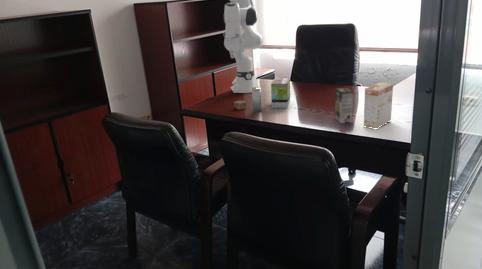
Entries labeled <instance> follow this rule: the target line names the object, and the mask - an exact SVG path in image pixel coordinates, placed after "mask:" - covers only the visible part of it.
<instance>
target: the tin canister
mask: <svg viewBox="0 0 482 269" xmlns="http://www.w3.org/2000/svg"><path fill="white" fill-rule="evenodd" d="M251 94H252V97H251V99H252V110H253V111H252V113H254V114H261V113H262V112H263V108H262V107H263V105H262V104H263V103H262V87H260V86H257V87H253V88H252V92H251Z"/></svg>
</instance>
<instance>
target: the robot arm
mask: <svg viewBox="0 0 482 269" xmlns="http://www.w3.org/2000/svg"><path fill="white" fill-rule="evenodd" d="M229 1H230V2H227V3H225V4H224V13H223V23H224V25H225V31H224V32H223V33H222V34H223V37H224V42H223V45H224V48H225V49H226V50H227V51H229V54H230V58H231V59H235V62H236V72H235V73H236V74H235V75H236V77H235V78H234V79H233V81H232V83H231V84H232V86H230V89H231V90H232V92H233V93H235V94H237V93H239V94H250V93H252V88H253V87H258V82H257V81H258V80H257V77H256V76H255V70H254V59H253V58H252V56H251V55H248V54H245V53H244V52H245V51H249V50H257V49H261V47H262V46H263V44H264V43H263V42H264V39H263V36H262V34H260V33H259V32H258V31H256V29H255V28H254V25H255V24H256V23H257V22H258V12H257V10H256V8H255V4H254V0H229Z"/></svg>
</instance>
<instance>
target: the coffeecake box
mask: <svg viewBox="0 0 482 269" xmlns="http://www.w3.org/2000/svg"><path fill="white" fill-rule="evenodd" d="M393 88H394V83H389V82H383V81H382V82H378V83H375V84H373V85H371V86H368V87H366V88H364V106H363V107H364V108H363V110H364V111H363V127H364V126H366V127H372V128H378V127H379V126H381V125H383V124H385V123H387V122H388V121H390V120H391V121H392V108H393V107H392V106H393V94H394V93H393V92H394V89H393ZM387 124H388V123H387ZM378 129H379V128H378Z"/></svg>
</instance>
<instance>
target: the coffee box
mask: <svg viewBox="0 0 482 269" xmlns="http://www.w3.org/2000/svg"><path fill="white" fill-rule="evenodd" d="M334 97H335V104H334V106H335V107H334V108H335V114H334V117H335V120H337V121H338V123H340V124H346V123H345V122H350V123H353V108H354V91H352V90H351V89H349V87H338V88H335V96H334Z"/></svg>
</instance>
